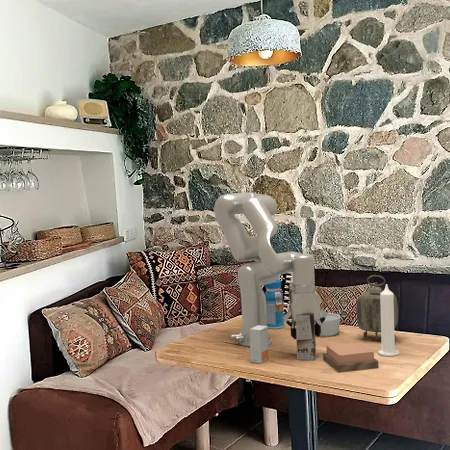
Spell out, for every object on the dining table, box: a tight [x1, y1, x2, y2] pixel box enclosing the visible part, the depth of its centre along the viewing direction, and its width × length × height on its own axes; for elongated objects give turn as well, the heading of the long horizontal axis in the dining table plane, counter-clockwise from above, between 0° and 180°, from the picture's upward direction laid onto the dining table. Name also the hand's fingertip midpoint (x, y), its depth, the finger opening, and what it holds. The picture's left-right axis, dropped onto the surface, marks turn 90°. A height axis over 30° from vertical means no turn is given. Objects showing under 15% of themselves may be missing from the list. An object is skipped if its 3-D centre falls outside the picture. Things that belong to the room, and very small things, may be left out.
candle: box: [377, 283, 400, 357], centre depth 211 cm, size 7×7×25 cm
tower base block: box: [322, 352, 380, 373], centre depth 203 cm, size 14×14×3 cm
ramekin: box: [315, 312, 341, 337], centre depth 243 cm, size 13×13×7 cm
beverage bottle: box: [264, 279, 285, 330], centre depth 256 cm, size 8×8×20 cm
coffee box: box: [295, 313, 317, 361], centre depth 213 cm, size 9×6×16 cm
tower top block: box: [326, 341, 375, 364], centre depth 202 cm, size 12×12×3 cm
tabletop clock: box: [355, 274, 399, 342], centre depth 229 cm, size 14×9×25 cm, turn 63°
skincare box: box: [249, 325, 270, 364], centre depth 210 cm, size 6×4×12 cm
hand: (306, 336), depth 213 cm, fingers closed on coffee box, 8 cm apart
